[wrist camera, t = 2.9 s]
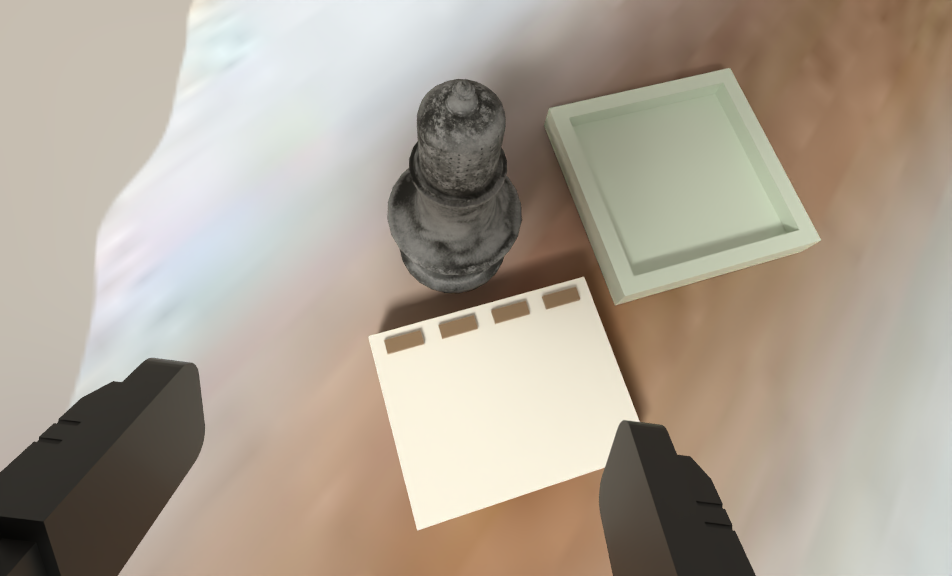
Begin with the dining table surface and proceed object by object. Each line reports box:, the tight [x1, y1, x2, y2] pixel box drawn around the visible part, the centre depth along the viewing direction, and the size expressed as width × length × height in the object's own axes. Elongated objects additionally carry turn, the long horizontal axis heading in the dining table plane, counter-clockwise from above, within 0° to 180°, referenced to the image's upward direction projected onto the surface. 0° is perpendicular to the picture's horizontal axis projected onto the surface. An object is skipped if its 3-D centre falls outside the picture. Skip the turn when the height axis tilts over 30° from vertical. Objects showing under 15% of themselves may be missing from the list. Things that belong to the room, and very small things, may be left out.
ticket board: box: [368, 277, 640, 530], centre depth 24 cm, size 10×8×2 cm
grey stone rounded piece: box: [387, 79, 522, 293], centre depth 21 cm, size 6×6×12 cm
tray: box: [544, 68, 821, 305], centre depth 28 cm, size 11×11×2 cm
